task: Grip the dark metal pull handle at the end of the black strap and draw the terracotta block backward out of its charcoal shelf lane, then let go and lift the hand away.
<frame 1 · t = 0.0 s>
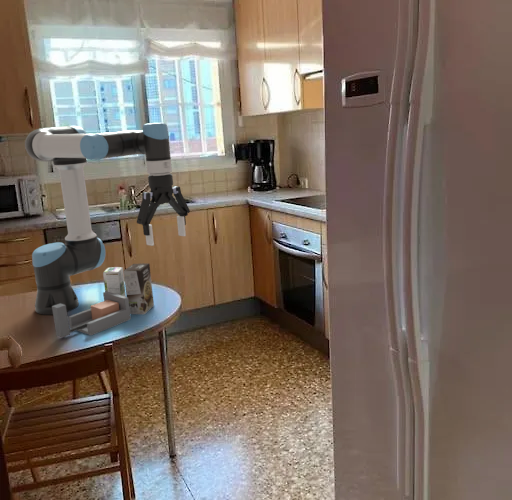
hand: (166, 240, 176), 28 cm above the table, tool pointing down, fingers open, 13 cm apart
syrup box: (117, 307, 200), on the table
coffee box: (141, 310, 197), on the table
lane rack: (100, 323, 186), on the table
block: (86, 311, 181), point 6 cm above the table, slide at 0.0 cm
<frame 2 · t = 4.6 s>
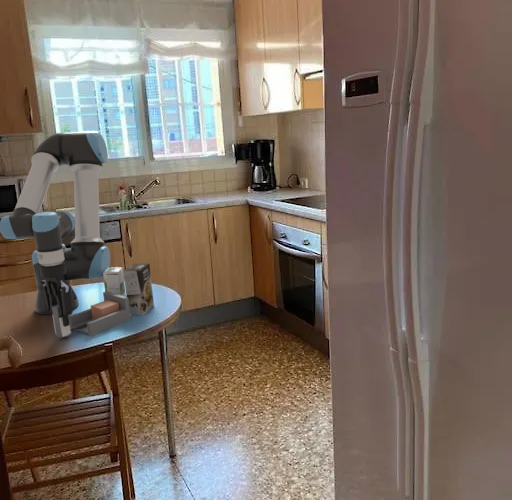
hand: (63, 333, 175), 2 cm above the table, tool pointing down, fingers closed on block, 3 cm apart
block: (86, 311, 181), point 6 cm above the table, slide at 0.0 cm, touching gripper
everything else where it was.
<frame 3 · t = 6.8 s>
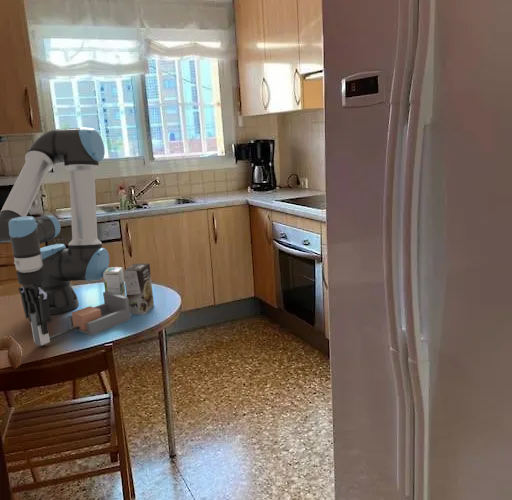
hand: (42, 341, 170), 2 cm above the table, tool pointing down, fingers closed on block, 3 cm apart
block: (66, 318, 175), point 6 cm above the table, slide at 7.3 cm, touching gripper
everything else where it was.
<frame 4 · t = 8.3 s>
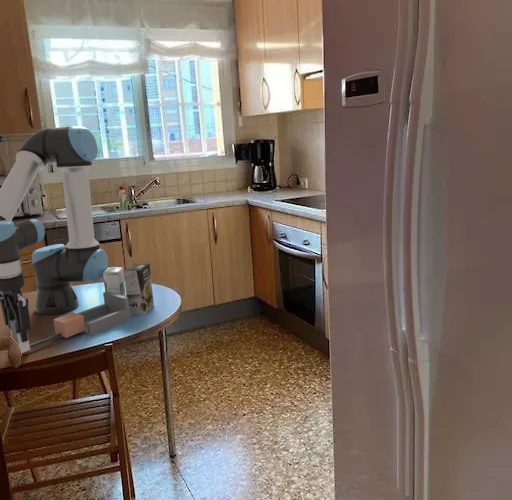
hand: (22, 349, 165), 2 cm above the table, tool pointing down, fingers closed on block, 3 cm apart
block: (47, 325, 171), point 6 cm above the table, slide at 13.8 cm, touching gripper
everything else where it was.
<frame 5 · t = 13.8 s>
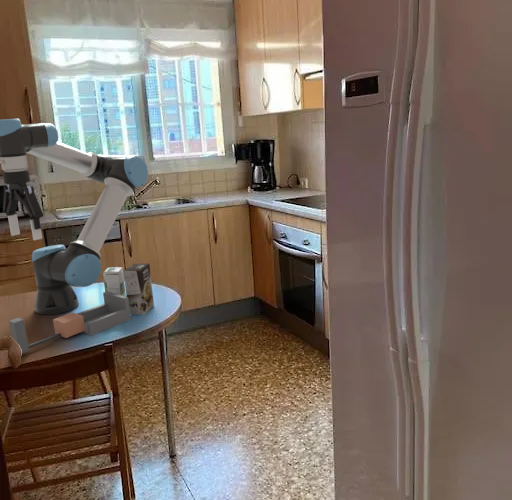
hand: (26, 237, 175), 32 cm above the table, tool pointing down, fingers open, 13 cm apart
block: (47, 325, 170), point 6 cm above the table, slide at 14.0 cm
everything else where it was.
at the end: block slide at 14.0 cm; the gripper is holding nothing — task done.
